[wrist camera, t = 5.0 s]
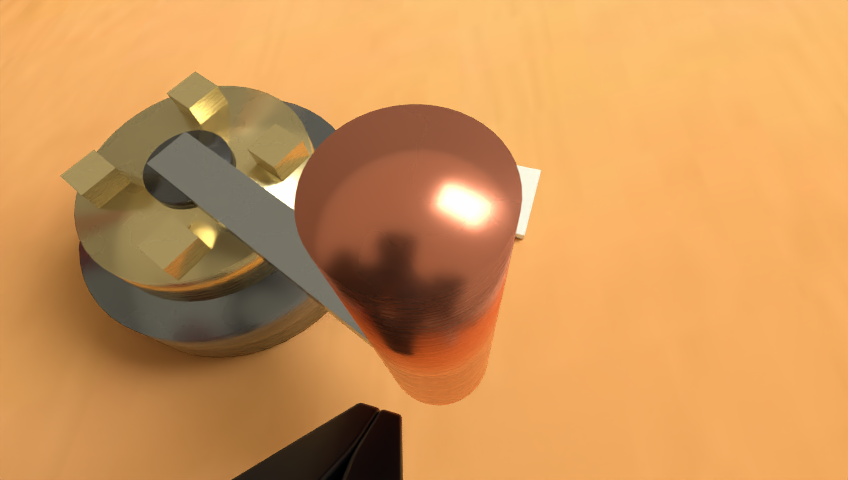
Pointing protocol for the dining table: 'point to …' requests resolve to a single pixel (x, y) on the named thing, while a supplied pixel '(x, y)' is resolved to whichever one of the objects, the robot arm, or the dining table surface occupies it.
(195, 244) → the copper crank handle
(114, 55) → the dining table surface
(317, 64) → the dining table surface
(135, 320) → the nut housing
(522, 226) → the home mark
